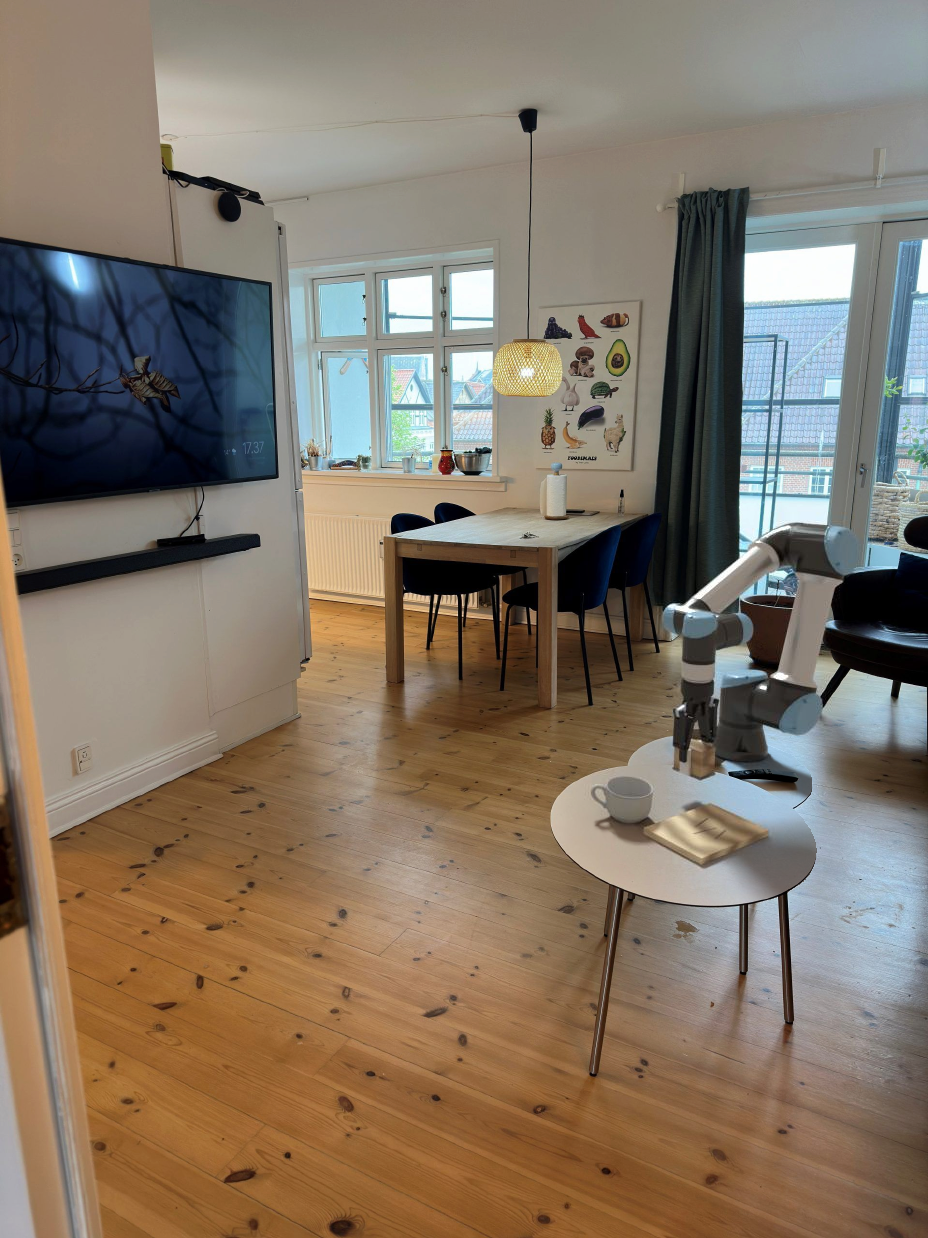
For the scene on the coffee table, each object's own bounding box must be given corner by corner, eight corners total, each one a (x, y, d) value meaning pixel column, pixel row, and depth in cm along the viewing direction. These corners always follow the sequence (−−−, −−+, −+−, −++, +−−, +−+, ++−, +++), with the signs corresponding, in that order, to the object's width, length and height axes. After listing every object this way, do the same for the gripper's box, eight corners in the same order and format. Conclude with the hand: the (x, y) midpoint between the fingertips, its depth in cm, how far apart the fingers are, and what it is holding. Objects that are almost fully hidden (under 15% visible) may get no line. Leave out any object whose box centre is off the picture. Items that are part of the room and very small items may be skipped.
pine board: (709, 809, 191) (710, 803, 191) (768, 836, 178) (768, 829, 178) (643, 834, 179) (643, 827, 179) (701, 865, 166) (701, 858, 166)
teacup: (655, 811, 190) (657, 779, 188) (647, 832, 180) (649, 798, 178) (596, 801, 195) (597, 770, 193) (585, 821, 185) (586, 788, 183)
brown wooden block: (687, 764, 199) (688, 737, 198) (715, 775, 193) (716, 747, 191) (672, 769, 196) (673, 742, 195) (700, 780, 190) (701, 752, 188)
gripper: (710, 667, 197) (706, 756, 202) (657, 682, 187) (654, 775, 193) (736, 674, 191) (731, 766, 196) (683, 690, 181) (679, 786, 187)
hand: (693, 770), depth 194 cm, fingers closed on brown wooden block, 5 cm apart
